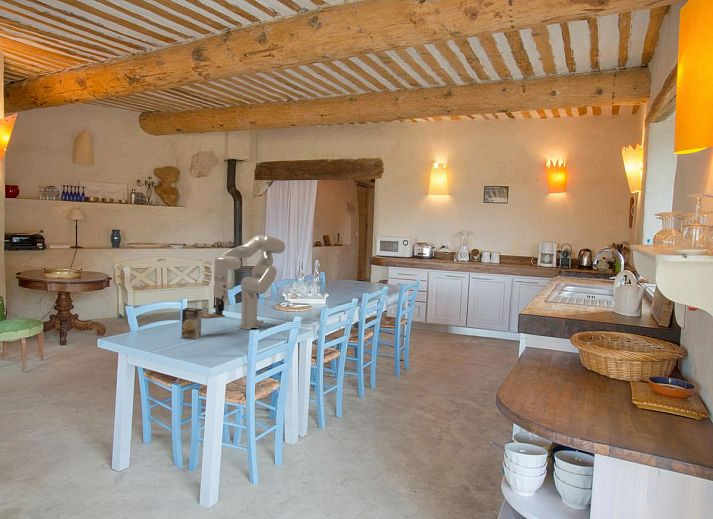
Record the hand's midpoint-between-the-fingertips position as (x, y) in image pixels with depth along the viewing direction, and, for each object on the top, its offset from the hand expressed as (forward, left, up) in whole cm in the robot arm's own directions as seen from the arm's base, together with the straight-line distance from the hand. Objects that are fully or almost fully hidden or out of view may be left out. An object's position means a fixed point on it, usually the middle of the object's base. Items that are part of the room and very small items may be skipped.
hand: (219, 309), depth 288 cm
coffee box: (+16, 0, -15) cm, 22 cm away
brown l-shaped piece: (+4, 0, -4) cm, 6 cm away
